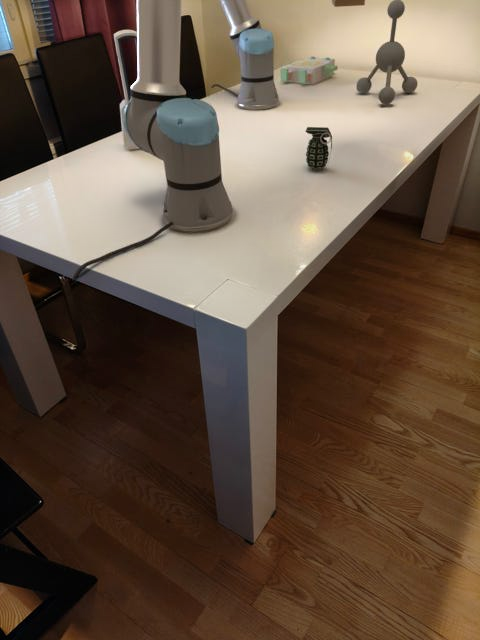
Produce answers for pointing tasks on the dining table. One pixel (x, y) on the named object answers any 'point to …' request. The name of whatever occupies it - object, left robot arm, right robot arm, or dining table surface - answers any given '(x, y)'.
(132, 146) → the electronic device
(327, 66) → the decorative block
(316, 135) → the grenade
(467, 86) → the dining table surface
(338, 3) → the block
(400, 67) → the molecular model
